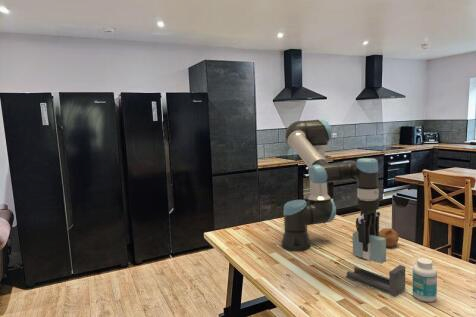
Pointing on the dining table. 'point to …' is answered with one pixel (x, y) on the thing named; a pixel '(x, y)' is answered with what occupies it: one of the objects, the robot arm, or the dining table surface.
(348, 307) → the dining table surface
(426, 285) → the pill bottle
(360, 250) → the gray rectangular block
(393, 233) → the onion
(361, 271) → the floor track
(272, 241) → the dining table surface
